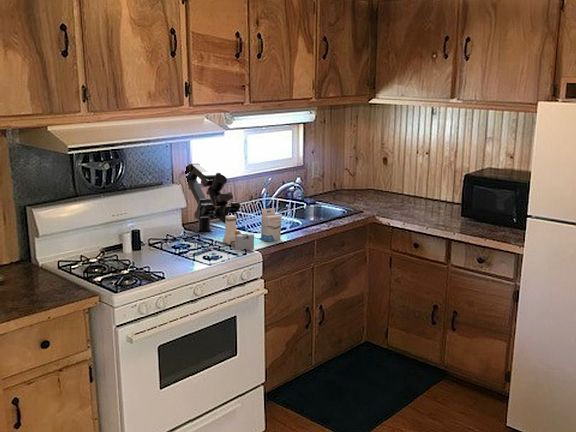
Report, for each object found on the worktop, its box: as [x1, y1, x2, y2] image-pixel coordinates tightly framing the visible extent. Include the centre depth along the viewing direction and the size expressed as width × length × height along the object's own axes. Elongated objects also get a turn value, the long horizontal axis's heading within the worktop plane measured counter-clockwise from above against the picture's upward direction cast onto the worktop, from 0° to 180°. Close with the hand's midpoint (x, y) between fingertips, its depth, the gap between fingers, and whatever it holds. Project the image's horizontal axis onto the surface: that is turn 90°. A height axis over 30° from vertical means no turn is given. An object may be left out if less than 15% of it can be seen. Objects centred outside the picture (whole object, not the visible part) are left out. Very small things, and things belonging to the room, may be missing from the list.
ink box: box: [260, 207, 282, 242], centre depth 296 cm, size 8×5×15 cm, turn 131°
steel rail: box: [222, 237, 235, 247], centre depth 286 cm, size 16×3×1 cm, turn 33°
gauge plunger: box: [235, 229, 247, 239], centre depth 280 cm, size 8×2×2 cm, turn 33°
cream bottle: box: [223, 214, 237, 245], centre depth 287 cm, size 5×5×12 cm
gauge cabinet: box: [234, 233, 255, 251], centre depth 278 cm, size 4×8×6 cm, turn 123°
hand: (226, 223), depth 291 cm, fingers closed
